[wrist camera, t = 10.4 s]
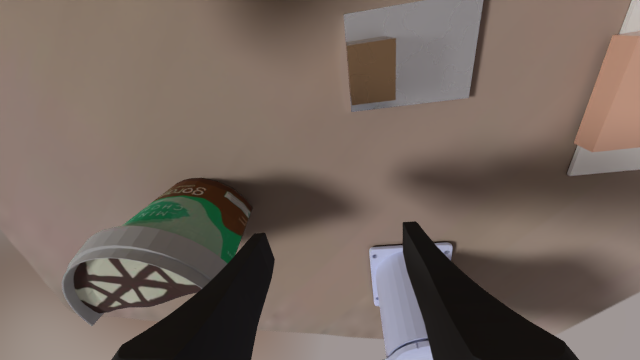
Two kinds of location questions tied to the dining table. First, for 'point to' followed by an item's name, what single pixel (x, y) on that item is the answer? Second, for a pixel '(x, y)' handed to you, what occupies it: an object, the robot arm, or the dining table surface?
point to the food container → (158, 250)
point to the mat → (610, 160)
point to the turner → (411, 53)
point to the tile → (614, 99)
